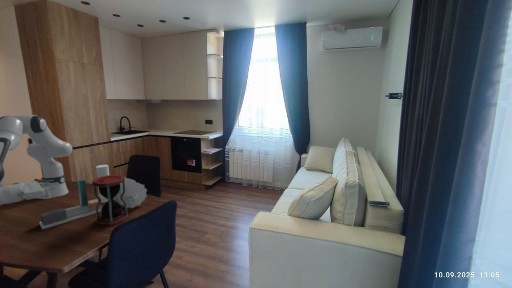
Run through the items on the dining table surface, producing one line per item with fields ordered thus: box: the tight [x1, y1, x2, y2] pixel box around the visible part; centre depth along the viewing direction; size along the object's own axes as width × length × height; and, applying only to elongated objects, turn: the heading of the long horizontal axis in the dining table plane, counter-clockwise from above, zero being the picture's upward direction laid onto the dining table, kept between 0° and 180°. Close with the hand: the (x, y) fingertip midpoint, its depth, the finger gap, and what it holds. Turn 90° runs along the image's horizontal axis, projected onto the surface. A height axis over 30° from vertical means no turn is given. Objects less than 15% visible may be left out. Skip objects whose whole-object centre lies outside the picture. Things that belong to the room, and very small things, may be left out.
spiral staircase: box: [113, 176, 148, 209], centre depth 159 cm, size 18×18×25 cm
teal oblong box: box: [64, 178, 91, 217], centre depth 141 cm, size 16×4×20 cm, turn 141°
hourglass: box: [91, 174, 129, 227], centre depth 138 cm, size 16×16×25 cm
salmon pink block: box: [87, 198, 103, 212], centre depth 149 cm, size 6×5×5 cm
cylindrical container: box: [95, 164, 110, 204], centre depth 163 cm, size 7×7×25 cm
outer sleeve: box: [40, 207, 67, 226], centre depth 134 cm, size 10×5×5 cm, turn 141°
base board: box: [39, 209, 101, 230], centre depth 142 cm, size 30×8×1 cm, turn 141°
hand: (51, 185), depth 132 cm, fingers open, 8 cm apart
